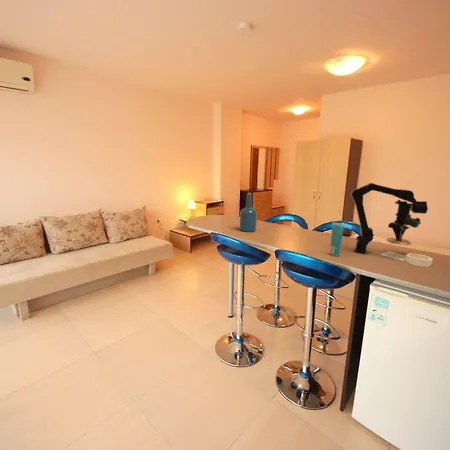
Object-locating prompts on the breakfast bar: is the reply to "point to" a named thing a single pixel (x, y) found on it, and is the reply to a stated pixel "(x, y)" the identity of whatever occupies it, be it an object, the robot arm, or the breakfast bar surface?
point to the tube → (336, 238)
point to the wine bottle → (248, 216)
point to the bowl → (418, 259)
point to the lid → (398, 240)
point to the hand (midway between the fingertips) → (398, 238)
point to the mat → (394, 255)
